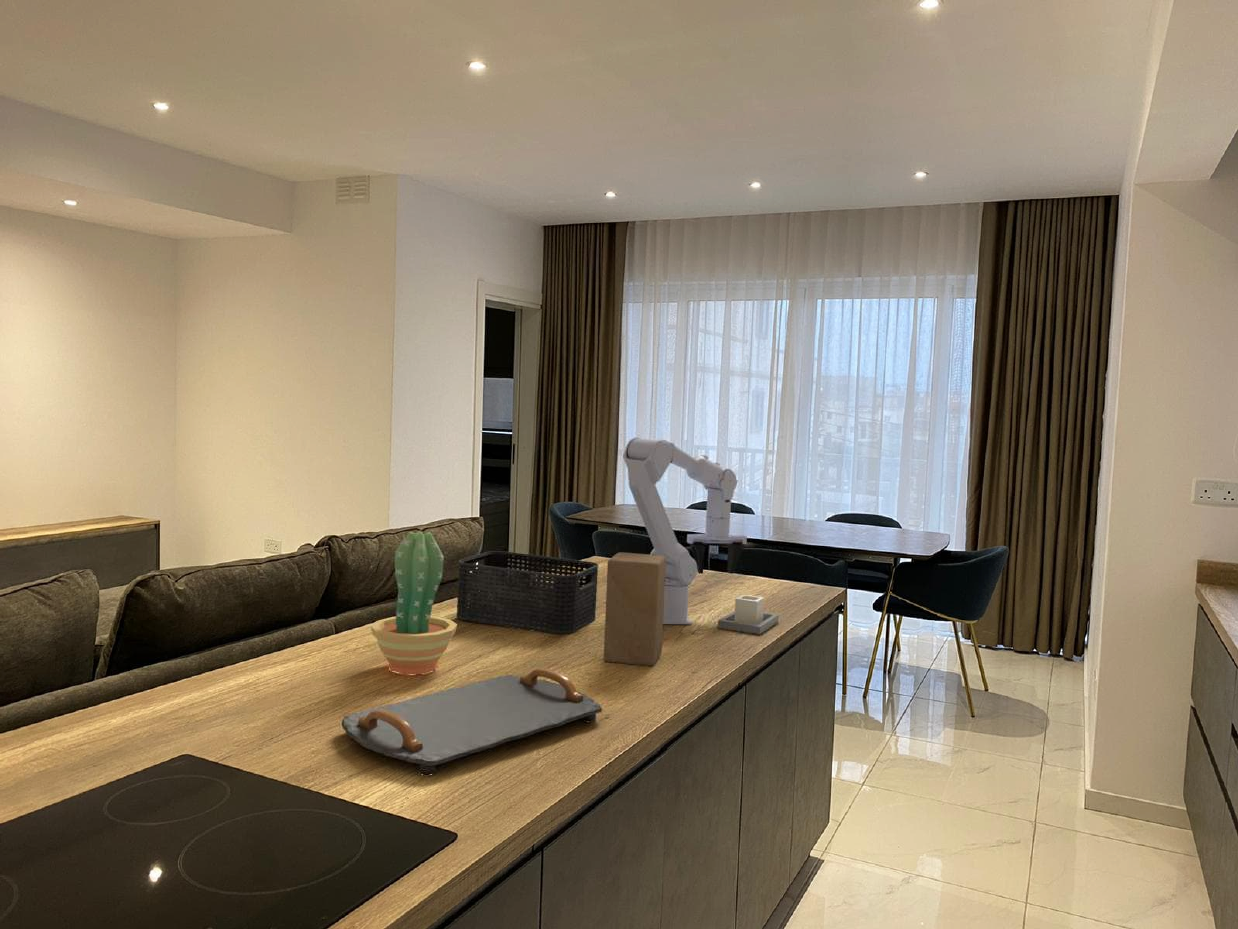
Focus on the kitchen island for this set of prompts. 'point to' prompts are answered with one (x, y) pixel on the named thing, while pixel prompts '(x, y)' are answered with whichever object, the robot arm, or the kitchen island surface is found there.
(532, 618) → the storage bin
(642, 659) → the wooden block
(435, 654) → the potted cactus
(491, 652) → the kitchen island surface
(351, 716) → the serving board
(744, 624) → the tray
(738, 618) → the cream block
